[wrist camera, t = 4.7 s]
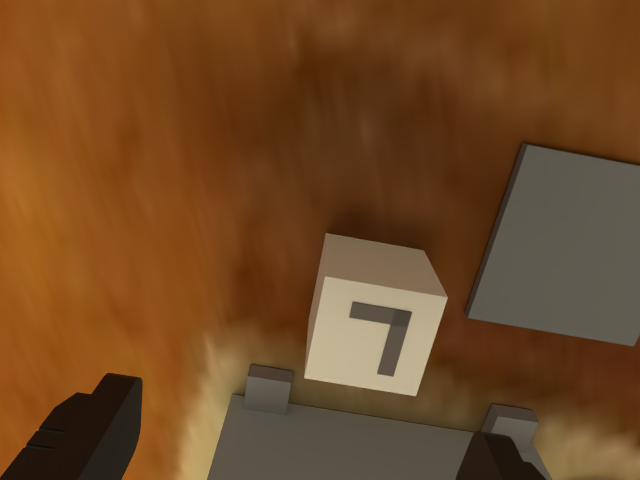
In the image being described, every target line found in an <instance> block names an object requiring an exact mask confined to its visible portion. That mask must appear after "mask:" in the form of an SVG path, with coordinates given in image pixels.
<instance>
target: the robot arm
mask: <svg viewBox="0 0 640 480" xmlns="http://www.w3.org/2000/svg"><path fill="white" fill-rule="evenodd" d="M141 407H142V379H141V378H139V377H133V376H126V375H120V374H113V373H107V374H106V375H105V376H104V377H103V379H102V380H101V381H100V383H99V384H98V386H97V387H96V389H95V390H94V391H93V393H92V394H85V393H78V392H77V393H76V394H74V395H73V396H71V397H70V398H68V399H67V400H65V401H64V402H62V403H61V404H59V405H58V406H56V407H55V408H54V409H53V411H52V412H51V413H50V414H49V416H48V417H47V418H46V420H45V421H44V422H43V423H42V425H41V426H40V428H39V431H36V432H35V434H34V435H33V436H32V438H31V439H30V440H29V441H28V443H27V445H26V447H25V448H23V449H22V450H21V452H20V453H19V454H18V455H17V457H16V458H15V459H14V461H13V462H12V463H11V464H10V466H9V467H8V468H7V470H6V471H5V472H4V473H3V475H2V476H1V477H0V480H121V479H122V477H123V475H124V473H125V471H126V469H127V467H128V465H129V463H130V460H131V458H132V456H133V454H134V451H135V449H136V446H137V442H138V439H139V434H140V427H141ZM455 480H546V478H545V477H544V476H543V475H542V474H541V473H540V472H539V471H538V470H537V468H536V467H535V466H534V465H533V464H532V463H531V462H525V461H523V460H522V458H521V456H520V453H519V451H518V449H517V447H516V445H515V443H514V441H513V440H512V439H511V437H509V436H507V435H501V434H494V433H488V432H481V431H476V432H475V433H474V434H473V436H472V438H471V441H470V443H469V446H468V448H467V451H466V453H465V455H464V458H463V460H462V463H461V465H460V468H459V470H458V473H457V476H456V479H455Z"/></svg>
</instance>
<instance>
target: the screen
mask: <svg viewBox="0 0 640 480" xmlns="http://www.w3.org/2000/svg"><path fill="white" fill-rule="evenodd" d="M292 375H293V371H287V370H281V369H275V368H269V367H263V366H256V365H250V369H249V373H248V378H247V384H246V391H245V396H241V395H234V394H232V396H231V400H230V403H229V407H228V410H227V413H226V417H225V420H224V424H223V427H222V430H221V434H220V437H219V441H218V444H217V447H216V451H215V454H214V458H213V461H212V465H211V468H210V471H209V475H208V478H207V480H455V479H456V476H457V473H458V470H459V468H460V465H461V463H462V460H463V458H464V455H465V453H466V451H467V448H468V446H469V443H470V441H471V438H472V436H473V434H474V432H467V431H461V430H455V429H449V428H442V427H436V426H430V425H423V424H417V423H411V422H404V421H398V420H392V419H386V418H379V417H373V416H367V415H360V414H354V413H348V412H341V411H335V410H329V409H322V408H316V407H310V406H304V405H297V404H291V403H288V399H289V394H290V389H291V384H292ZM538 425H539V421H538V420H537V418H536V416H535V414H534V413H533V411H532V410H528V409H522V408H516V407H509V406H503V405H497V404H492V405H491V407H490V410H489V412H488V415H487V417H486V420H485V422H484V425H483V427H482V430H481V432H488V433H494V434H501V435H507V436H509V437H511V439H512V440H513V441H514V443H515V445H516V447H517V449H518V451H519V453H520V456H521V458H522V460H523V461H525V462H531V463H532V464H533V465H534V466H535V467H536V468H537V470H538V471H539V472H540V473H541V474H542V475H543V476H544V477H545V478H546V480H552V478H551V477H550V475H549V473H548V471H547V469H546V467H545V465H544V464H543V462H542V460H541V458H540V456H539V454H538V452H537V450H536V449H535V447H534V445H533V443H532V442H531V440H532V438H533V436H534V434H535V432H536V430H537V427H538Z"/></svg>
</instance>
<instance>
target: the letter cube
mask: <svg viewBox="0 0 640 480" xmlns="http://www.w3.org/2000/svg"><path fill="white" fill-rule="evenodd" d="M447 298H448V297H447V295H446V293H445V291H444V289H443V287H442V285H441V283H440V281H439V279H438V277H437V275H436V273H435V271H434V269H433V267H432V265H431V263H430V261H429V259H428V258H427V256H426V254H425V252H424V250H419V249H414V248H408V247H402V246H397V245H391V244H385V243H380V242H374V241H368V240H363V239H357V238H351V237H346V236H340V235H335V234H329V233H326V235H325V240H324V245H323V250H322V255H321V260H320V265H319V270H318V275H317V280H316V285H315V290H314V295H313V300H312V305H311V310H310V315H309V323H308V336H307V348H306V361H305V373H304V378H306V379H312V380H318V381H325V382H331V383H337V384H343V385H349V386H356V387H362V388H368V389H374V390H380V391H387V392H393V393H399V394H405V395H411V396H416V395H417V391H418V388H419V385H420V382H421V379H422V376H423V373H424V370H425V367H426V364H427V360H428V357H429V354H430V351H431V348H432V345H433V342H434V339H435V336H436V333H437V329H438V326H439V323H440V320H441V317H442V314H443V311H444V308H445V305H446V302H447Z"/></svg>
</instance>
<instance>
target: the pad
mask: <svg viewBox="0 0 640 480" xmlns="http://www.w3.org/2000/svg"><path fill="white" fill-rule="evenodd" d="M465 314H466V316H467V318H471V319H476V320H482V321H488V322H494V323H500V324H506V325H511V326H517V327H523V328H529V329H535V330H541V331H547V332H552V333H558V334H564V335H570V336H576V337H582V338H588V339H593V340H599V341H605V342H611V343H617V344H623V345H628V346H634V345H635V343H636V341H637V339H638V337H639V335H640V165H636V164H631V163H625V162H620V161H615V160H610V159H605V158H599V157H594V156H589V155H584V154H578V153H573V152H568V151H563V150H557V149H552V148H547V147H542V146H536V145H531V144H526V143H522V146H521V148H520V151H519V154H518V157H517V160H516V163H515V166H514V169H513V172H512V175H511V178H510V181H509V184H508V186H507V189H506V192H505V195H504V198H503V201H502V204H501V207H500V210H499V213H498V216H497V219H496V221H495V224H494V227H493V230H492V233H491V236H490V239H489V242H488V245H487V248H486V251H485V254H484V256H483V259H482V262H481V265H480V268H479V271H478V274H477V277H476V280H475V283H474V286H473V289H472V292H471V294H470V297H469V300H468V303H467V306H466V309H465Z"/></svg>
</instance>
